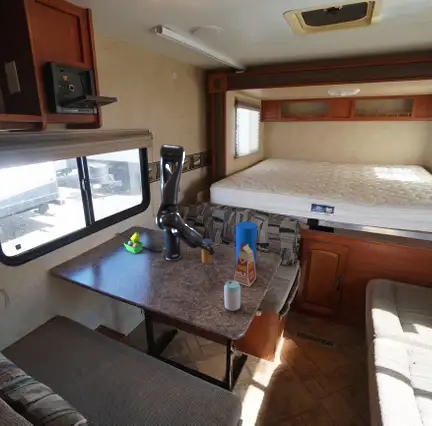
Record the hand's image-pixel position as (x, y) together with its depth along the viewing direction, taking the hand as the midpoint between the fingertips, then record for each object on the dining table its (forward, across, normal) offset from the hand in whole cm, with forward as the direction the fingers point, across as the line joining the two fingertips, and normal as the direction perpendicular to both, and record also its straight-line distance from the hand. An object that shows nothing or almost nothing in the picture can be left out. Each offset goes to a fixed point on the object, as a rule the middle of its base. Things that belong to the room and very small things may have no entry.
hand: (209, 251), depth 142 cm
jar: (+2, 0, +5) cm, 5 cm away
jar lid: (-6, 0, -3) cm, 6 cm away
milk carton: (+20, -14, +3) cm, 24 cm away
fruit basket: (+5, +59, +18) cm, 62 cm away
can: (+5, -23, +18) cm, 30 cm away
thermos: (+27, -6, -5) cm, 28 cm away
